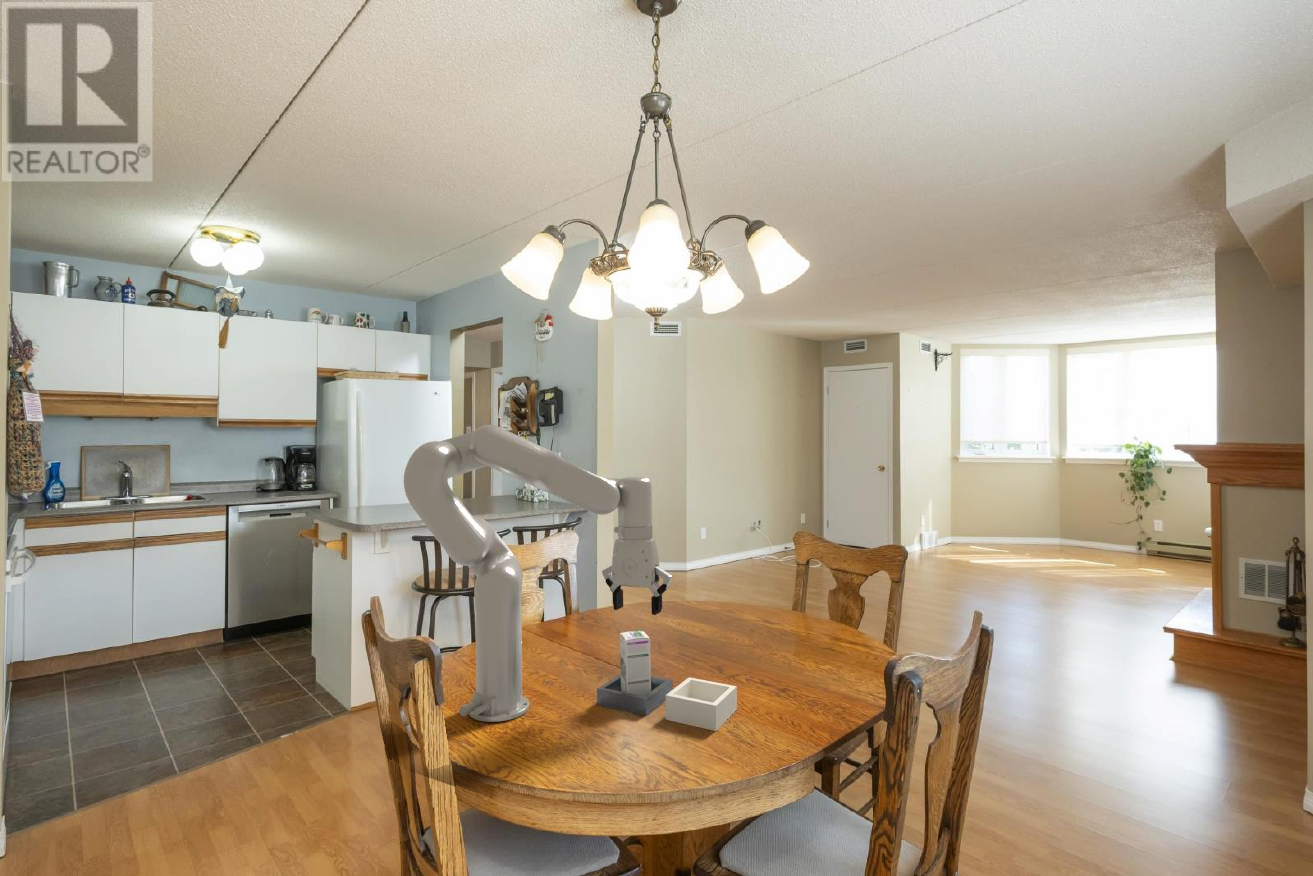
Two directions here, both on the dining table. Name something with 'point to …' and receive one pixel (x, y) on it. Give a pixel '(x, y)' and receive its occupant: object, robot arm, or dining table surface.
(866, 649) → the dining table surface
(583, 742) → the dining table surface
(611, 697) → the gray square frame
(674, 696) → the cradle
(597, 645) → the dining table surface
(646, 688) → the syrup box
